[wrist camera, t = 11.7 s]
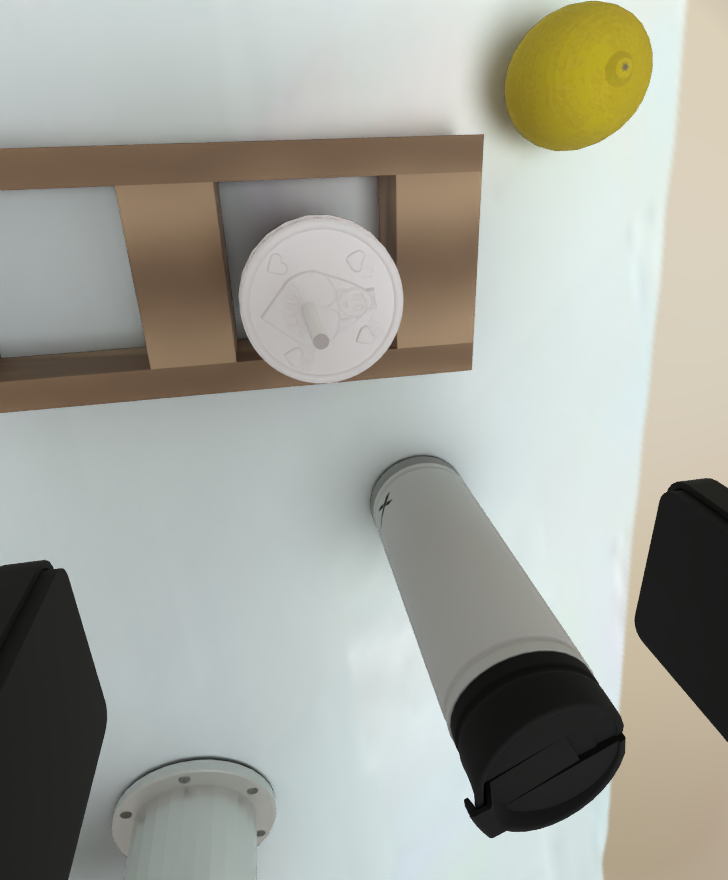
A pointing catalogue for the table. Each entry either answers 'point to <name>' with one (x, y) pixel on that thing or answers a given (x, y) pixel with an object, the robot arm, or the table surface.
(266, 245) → the smoothie
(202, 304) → the wooden frame
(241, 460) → the table surface
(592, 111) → the lemon
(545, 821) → the travel mug
